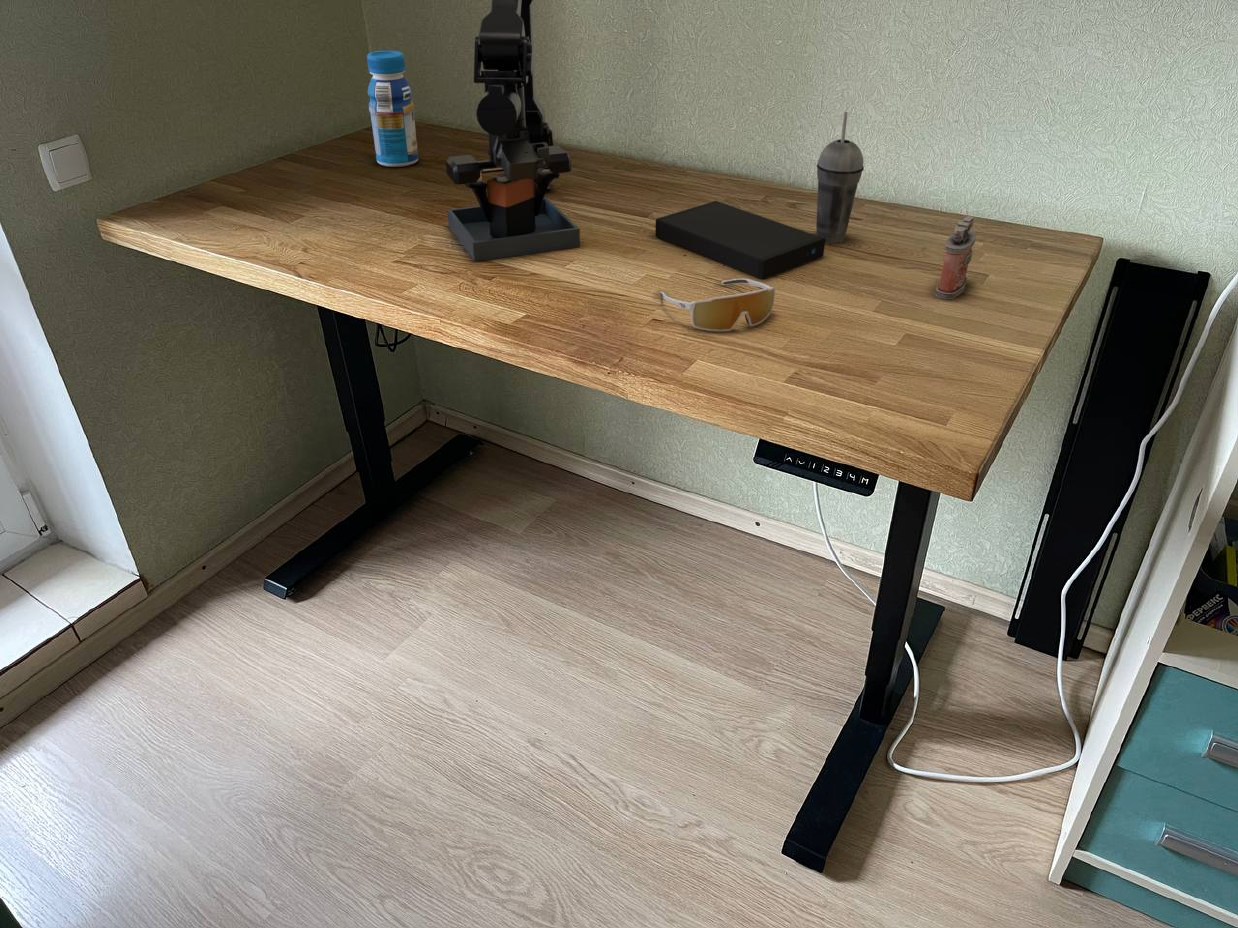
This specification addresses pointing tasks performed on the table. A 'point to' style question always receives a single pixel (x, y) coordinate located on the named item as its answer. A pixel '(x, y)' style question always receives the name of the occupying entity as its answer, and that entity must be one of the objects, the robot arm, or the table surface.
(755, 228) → the external hard drive
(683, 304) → the sunglasses
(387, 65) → the beverage bottle
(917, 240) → the table surface
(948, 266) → the lighter
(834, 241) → the beverage cup
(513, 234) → the battery
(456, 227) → the tray
